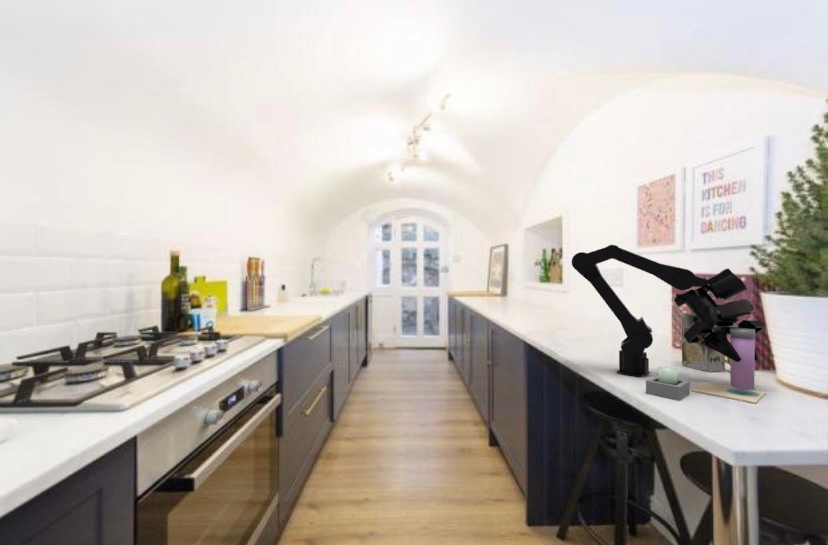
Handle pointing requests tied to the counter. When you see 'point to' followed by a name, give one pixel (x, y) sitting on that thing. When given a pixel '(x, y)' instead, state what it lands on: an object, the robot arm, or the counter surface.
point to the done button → (668, 375)
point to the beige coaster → (729, 392)
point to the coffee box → (699, 351)
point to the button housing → (668, 388)
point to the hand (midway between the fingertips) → (748, 360)
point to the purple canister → (743, 358)
